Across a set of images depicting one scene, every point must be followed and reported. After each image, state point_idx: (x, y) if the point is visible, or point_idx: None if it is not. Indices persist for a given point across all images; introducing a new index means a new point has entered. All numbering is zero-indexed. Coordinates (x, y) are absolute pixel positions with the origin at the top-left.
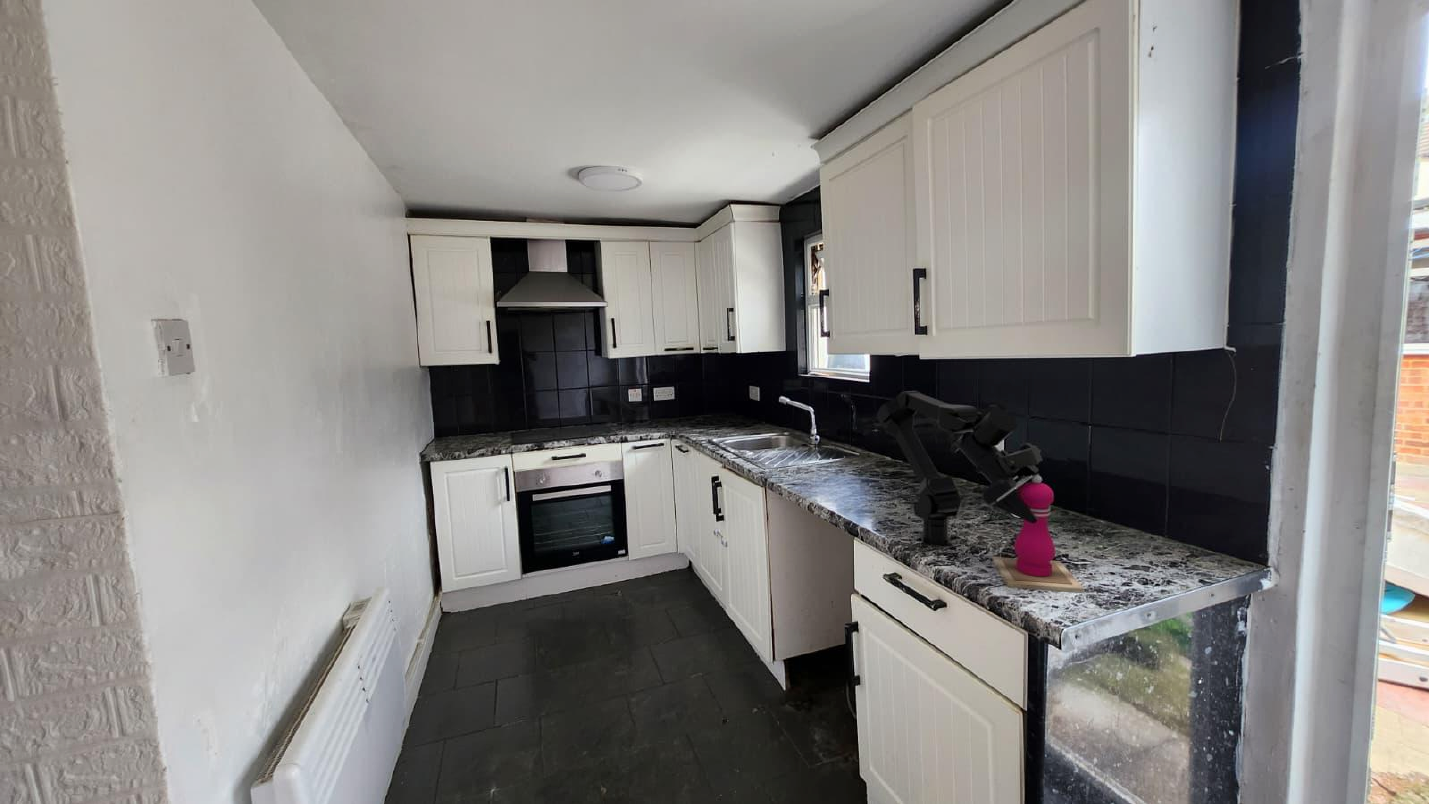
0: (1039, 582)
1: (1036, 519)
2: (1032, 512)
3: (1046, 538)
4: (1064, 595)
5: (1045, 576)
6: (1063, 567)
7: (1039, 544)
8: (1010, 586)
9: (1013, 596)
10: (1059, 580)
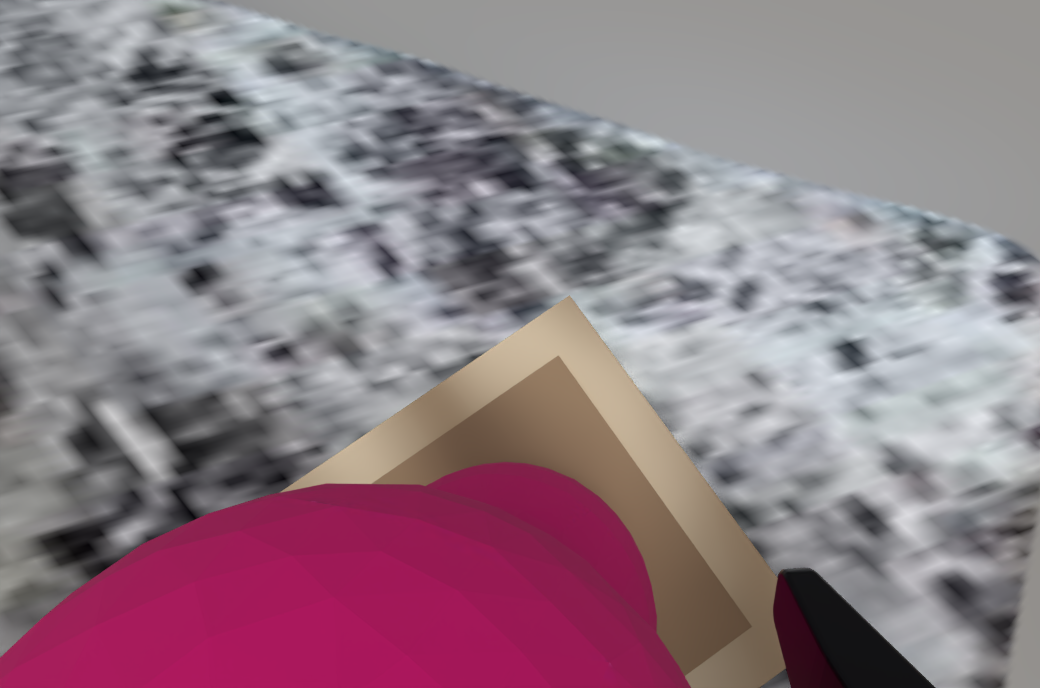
0: (663, 500)
1: (821, 583)
2: (852, 678)
3: (533, 516)
4: (675, 363)
5: None
6: (330, 471)
7: (612, 548)
8: None
9: (909, 561)
10: (564, 420)
